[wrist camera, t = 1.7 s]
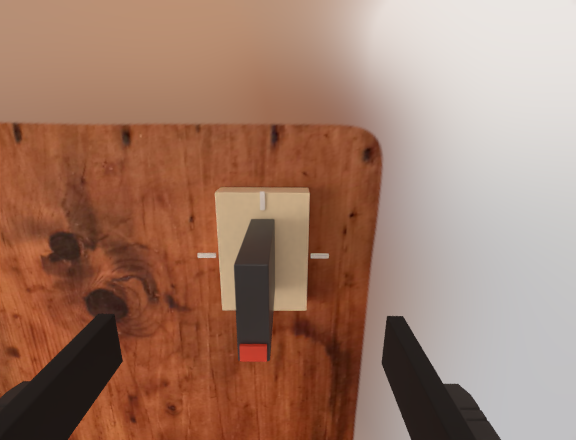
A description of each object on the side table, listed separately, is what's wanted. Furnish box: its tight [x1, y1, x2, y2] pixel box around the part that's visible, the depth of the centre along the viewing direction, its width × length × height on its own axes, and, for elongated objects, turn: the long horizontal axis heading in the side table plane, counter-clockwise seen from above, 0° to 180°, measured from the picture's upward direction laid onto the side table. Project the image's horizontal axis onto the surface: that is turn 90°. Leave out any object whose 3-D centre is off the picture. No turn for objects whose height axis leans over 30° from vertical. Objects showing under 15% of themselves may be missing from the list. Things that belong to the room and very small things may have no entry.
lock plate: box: [198, 187, 329, 311], centre depth 25 cm, size 10×10×2 cm
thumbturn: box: [234, 219, 275, 362], centre depth 21 cm, size 6×2×8 cm, turn 0°
